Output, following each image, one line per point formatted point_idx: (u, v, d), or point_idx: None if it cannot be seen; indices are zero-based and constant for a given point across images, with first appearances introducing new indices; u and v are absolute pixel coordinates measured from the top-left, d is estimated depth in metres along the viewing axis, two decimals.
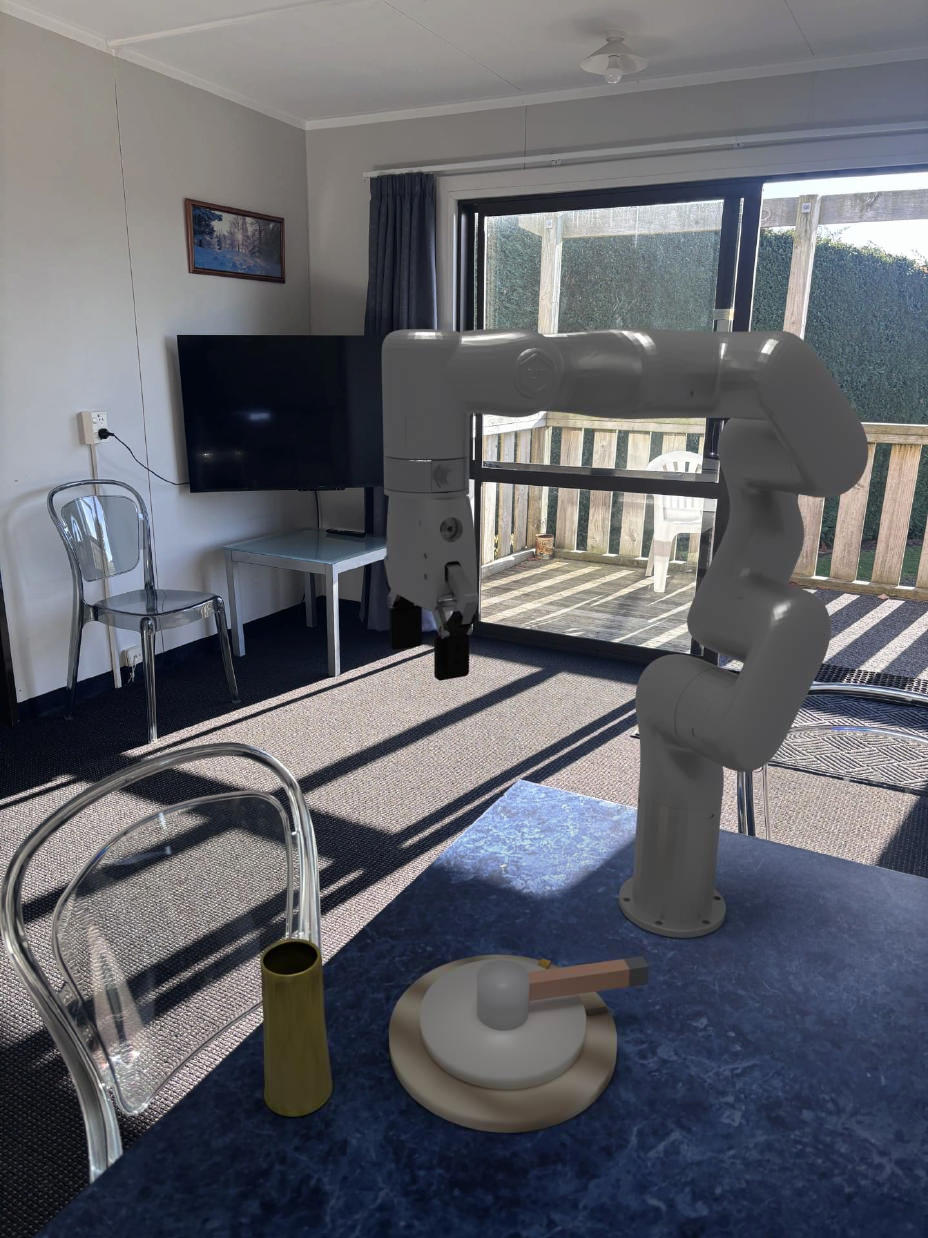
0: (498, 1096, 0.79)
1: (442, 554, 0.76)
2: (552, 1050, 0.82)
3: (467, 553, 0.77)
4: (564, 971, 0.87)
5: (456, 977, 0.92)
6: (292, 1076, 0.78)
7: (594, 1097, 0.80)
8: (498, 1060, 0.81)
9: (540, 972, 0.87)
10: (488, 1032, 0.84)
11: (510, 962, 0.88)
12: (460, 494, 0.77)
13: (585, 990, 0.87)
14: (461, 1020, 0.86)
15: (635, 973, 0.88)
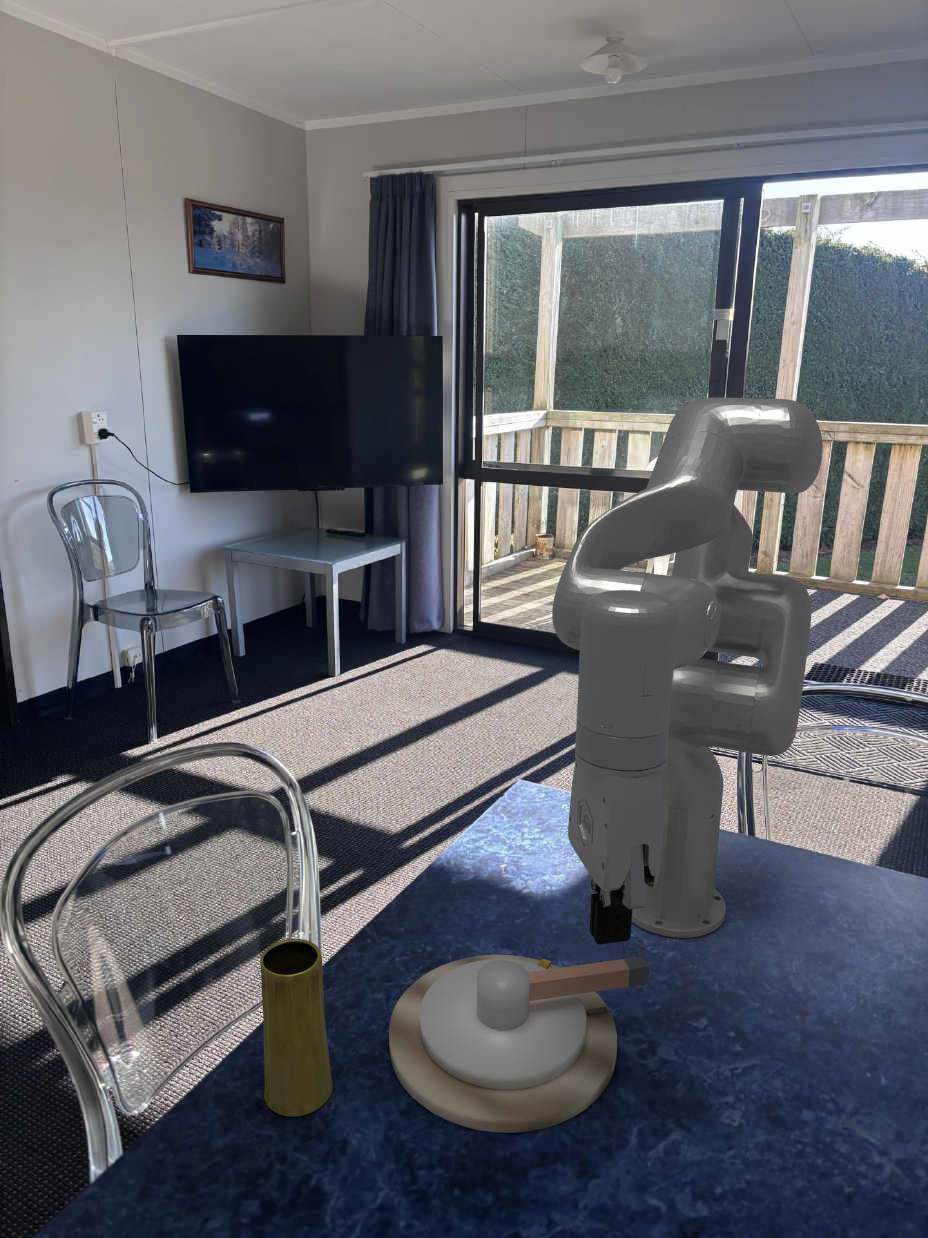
0: (498, 1096, 0.79)
1: None
2: (552, 1050, 0.82)
3: None
4: (564, 971, 0.87)
5: (456, 977, 0.92)
6: (292, 1076, 0.78)
7: (594, 1097, 0.80)
8: (498, 1060, 0.81)
9: (540, 972, 0.87)
10: (488, 1032, 0.84)
11: (510, 962, 0.88)
12: None
13: (585, 990, 0.87)
14: (461, 1020, 0.86)
15: (635, 973, 0.88)
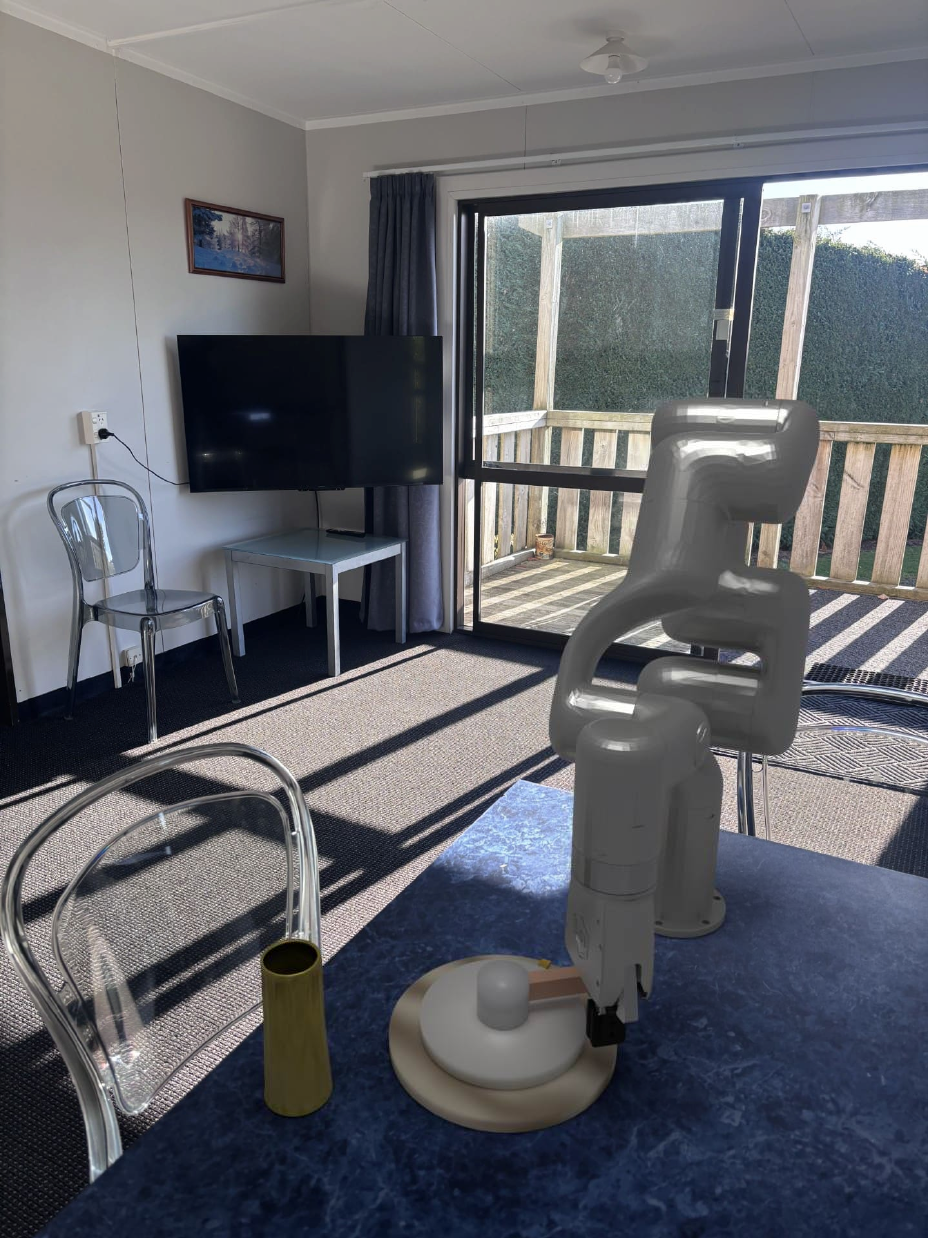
0: (498, 1096, 0.79)
1: None
2: (552, 1050, 0.82)
3: None
4: (564, 971, 0.87)
5: (456, 977, 0.92)
6: (292, 1076, 0.78)
7: (594, 1097, 0.80)
8: (498, 1060, 0.81)
9: (540, 972, 0.87)
10: (488, 1032, 0.84)
11: (510, 962, 0.88)
12: None
13: (585, 990, 0.87)
14: (461, 1020, 0.86)
15: None
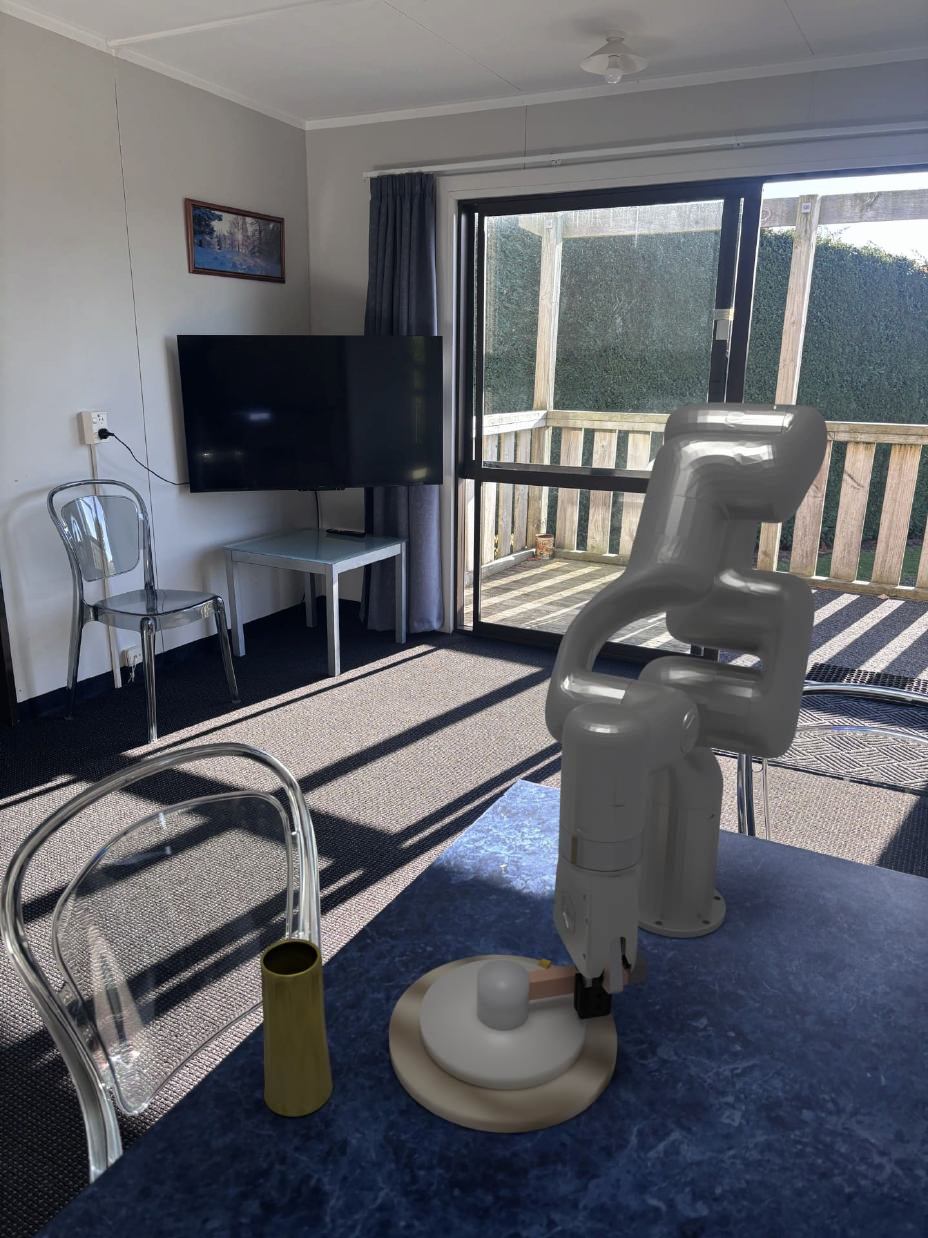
0: (498, 1096, 0.79)
1: None
2: (553, 1049, 0.82)
3: None
4: (563, 970, 0.88)
5: (454, 978, 0.92)
6: (292, 1076, 0.78)
7: (594, 1097, 0.80)
8: (500, 1060, 0.81)
9: (540, 971, 0.87)
10: (489, 1032, 0.84)
11: (509, 962, 0.88)
12: None
13: None
14: (462, 1021, 0.86)
15: (634, 971, 0.88)
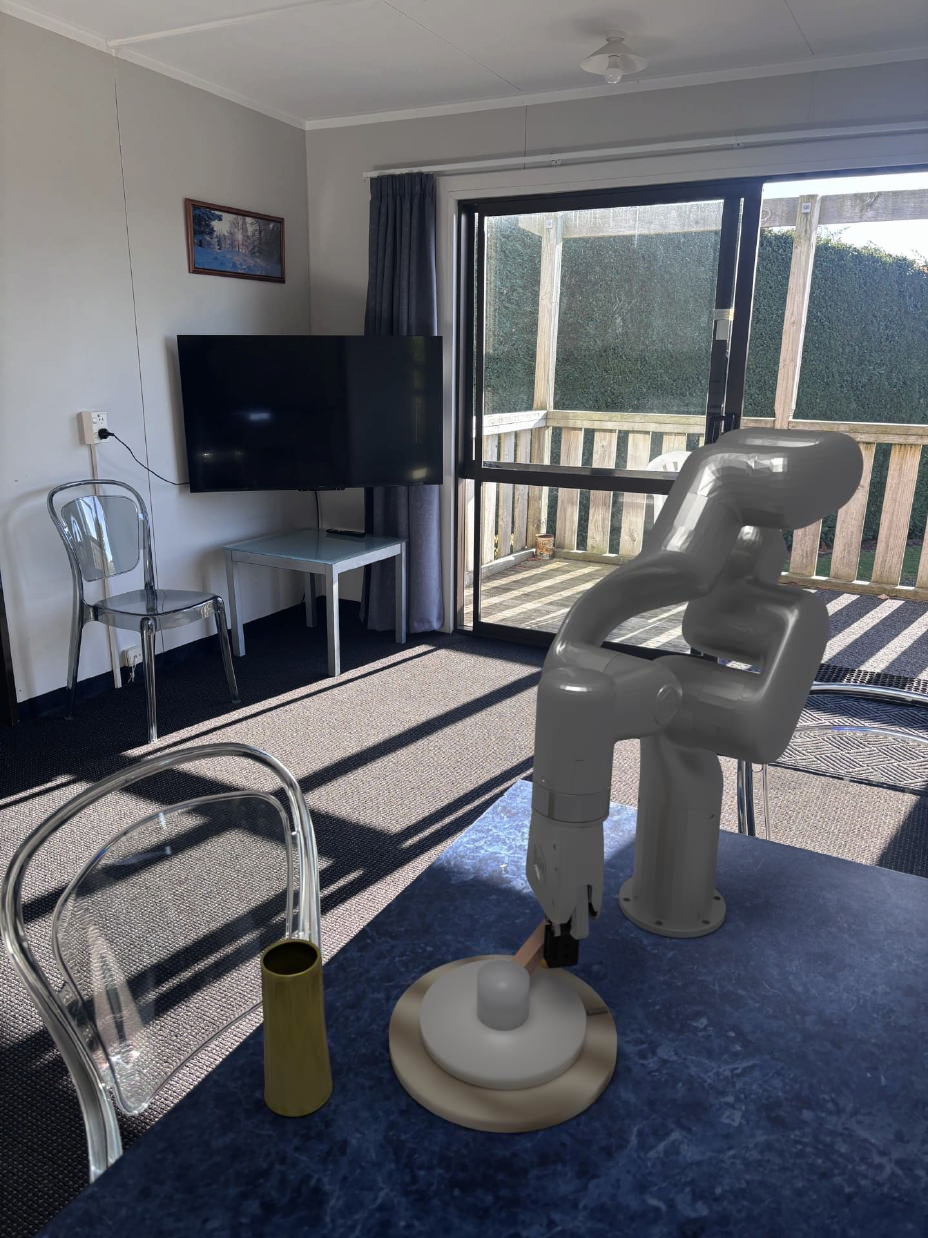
0: (498, 1096, 0.79)
1: None
2: (570, 1012, 0.87)
3: None
4: (529, 945, 0.91)
5: (432, 1012, 0.87)
6: (292, 1076, 0.78)
7: (594, 1097, 0.80)
8: (550, 1047, 0.83)
9: (515, 957, 0.90)
10: (515, 1033, 0.84)
11: (491, 963, 0.88)
12: None
13: None
14: (484, 1040, 0.83)
15: None
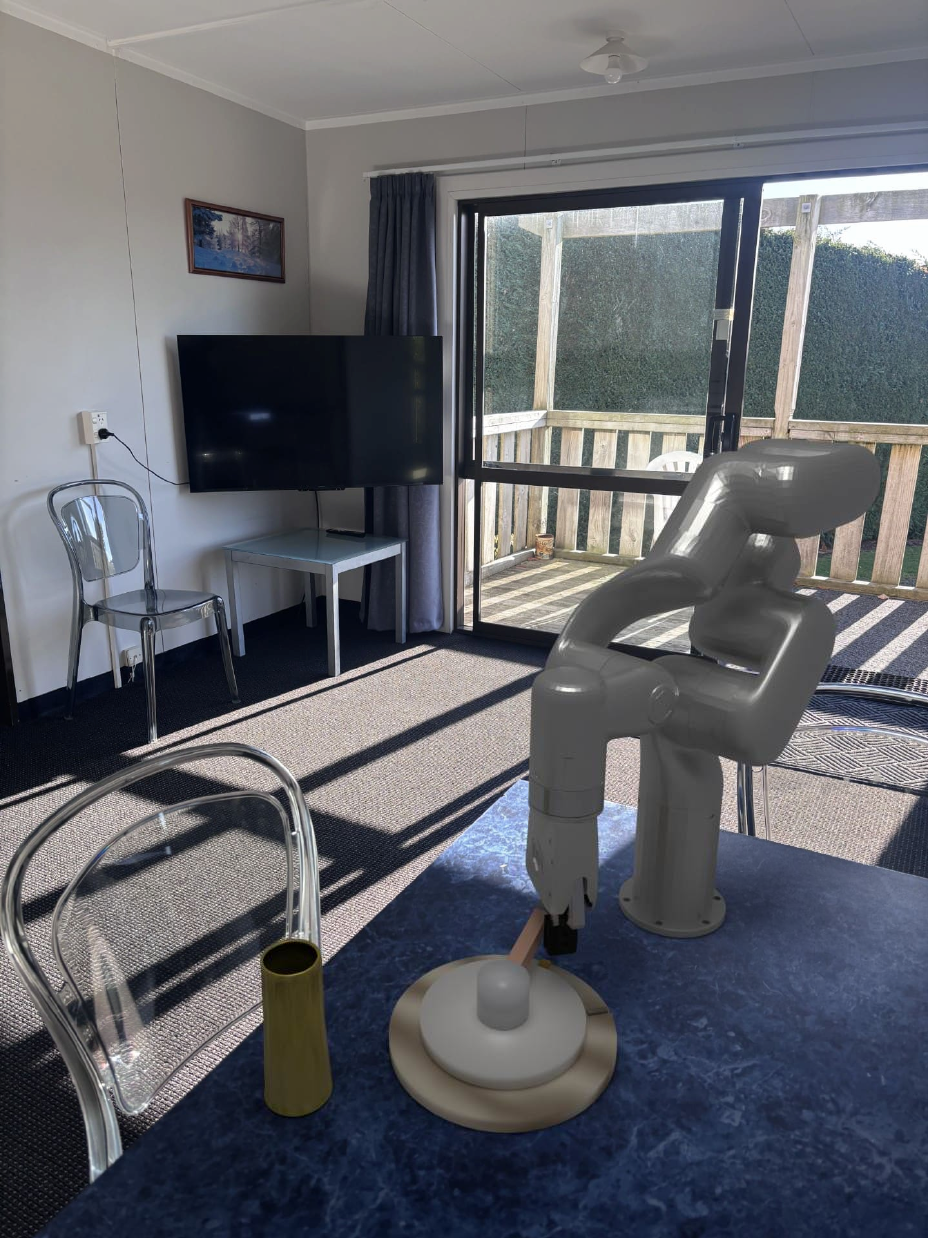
0: (498, 1096, 0.79)
1: None
2: (569, 1006, 0.88)
3: None
4: (521, 943, 0.92)
5: (432, 1018, 0.86)
6: (292, 1076, 0.78)
7: (594, 1097, 0.80)
8: (556, 1042, 0.83)
9: (510, 956, 0.90)
10: (519, 1032, 0.84)
11: (488, 964, 0.88)
12: None
13: (536, 948, 0.93)
14: (490, 1041, 0.83)
15: None
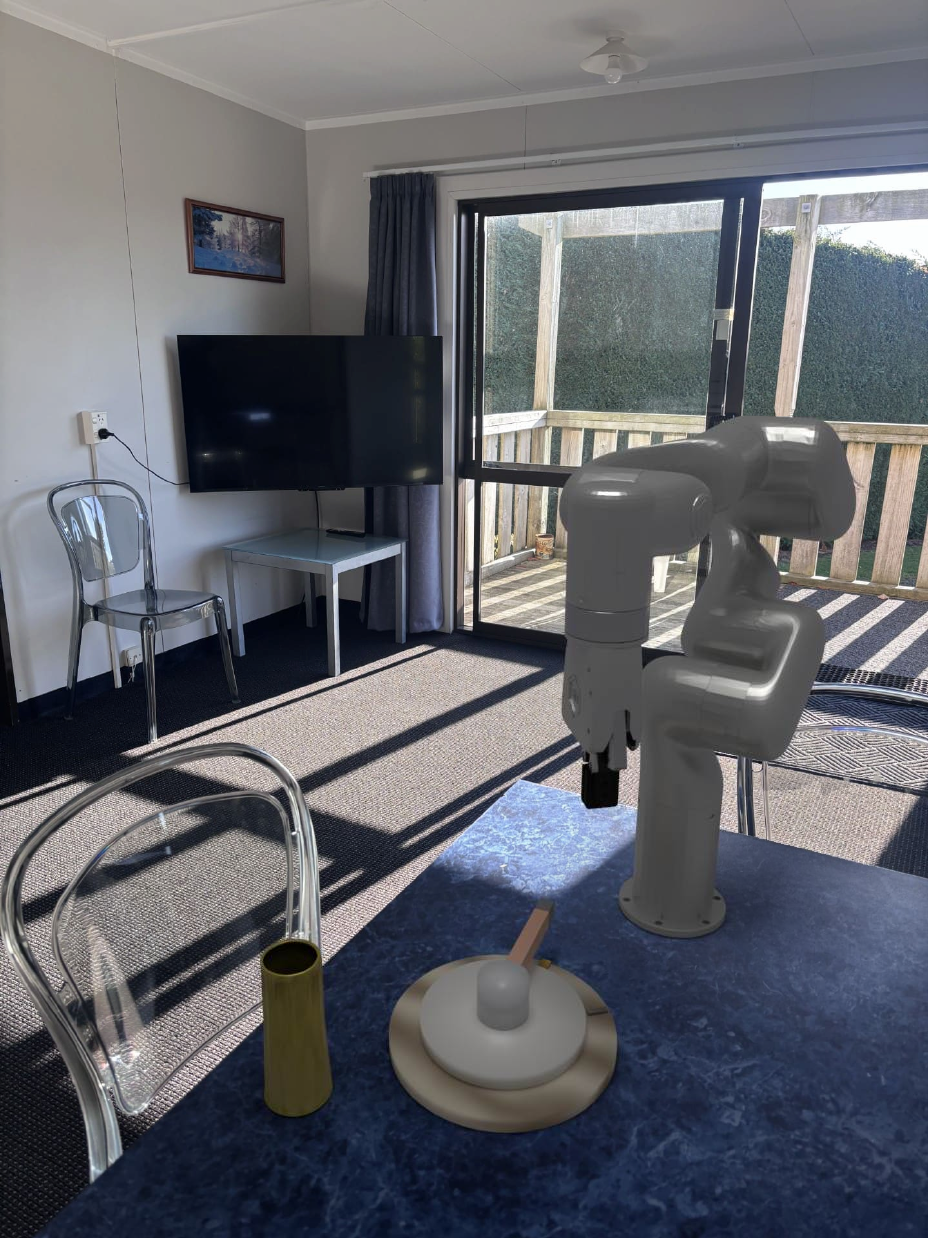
0: (498, 1096, 0.79)
1: None
2: (569, 1006, 0.88)
3: None
4: (521, 943, 0.92)
5: (432, 1019, 0.86)
6: (292, 1076, 0.78)
7: (594, 1097, 0.80)
8: (556, 1042, 0.83)
9: (510, 956, 0.90)
10: (519, 1032, 0.84)
11: (488, 964, 0.88)
12: None
13: (536, 948, 0.93)
14: (490, 1041, 0.83)
15: (550, 912, 0.98)
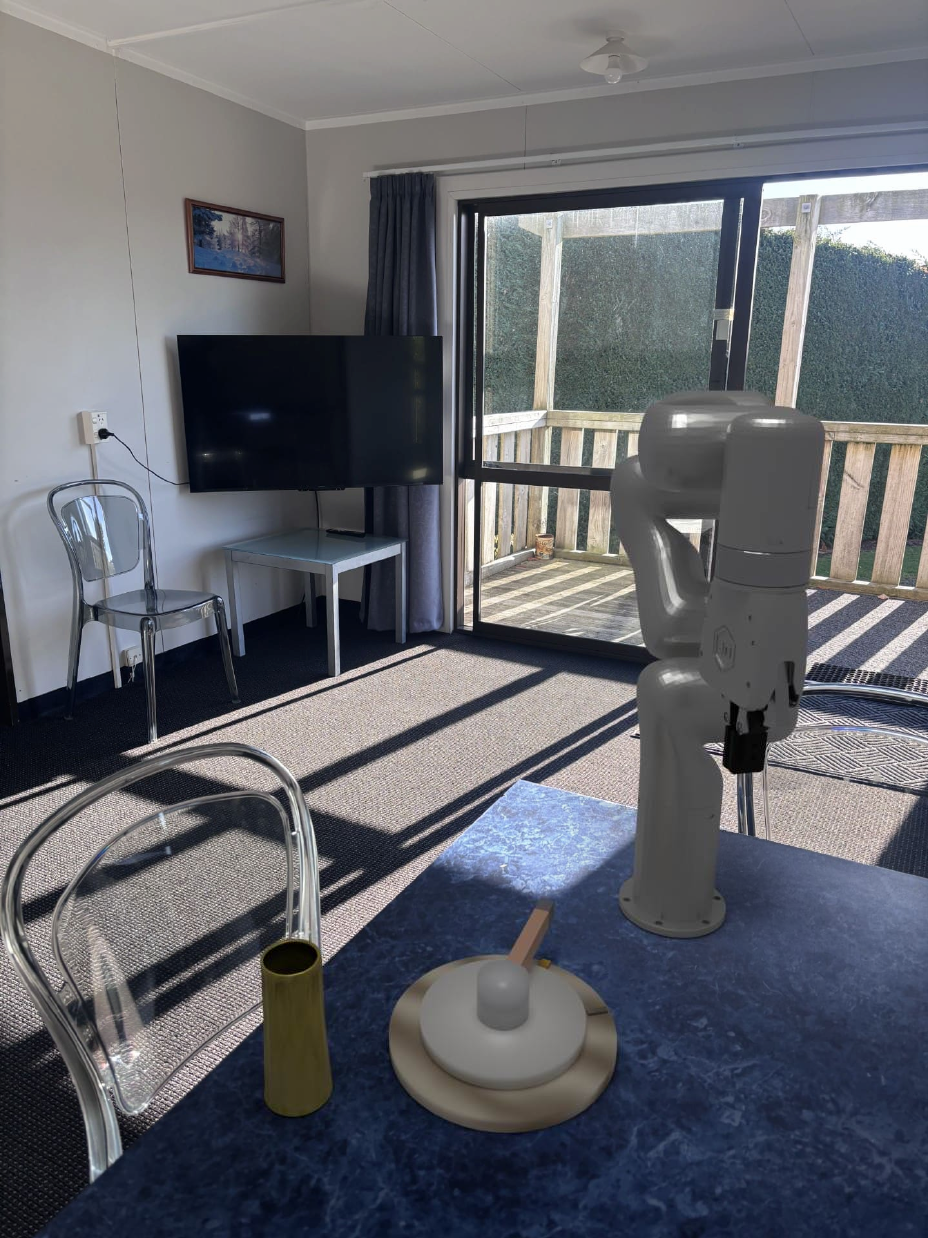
0: (498, 1096, 0.79)
1: None
2: (569, 1006, 0.88)
3: None
4: (521, 943, 0.92)
5: (432, 1019, 0.86)
6: (292, 1076, 0.78)
7: (594, 1097, 0.80)
8: (556, 1042, 0.83)
9: (510, 956, 0.90)
10: (519, 1032, 0.84)
11: (488, 964, 0.88)
12: None
13: (536, 948, 0.93)
14: (490, 1041, 0.83)
15: (550, 912, 0.98)
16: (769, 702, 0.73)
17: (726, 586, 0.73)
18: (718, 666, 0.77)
